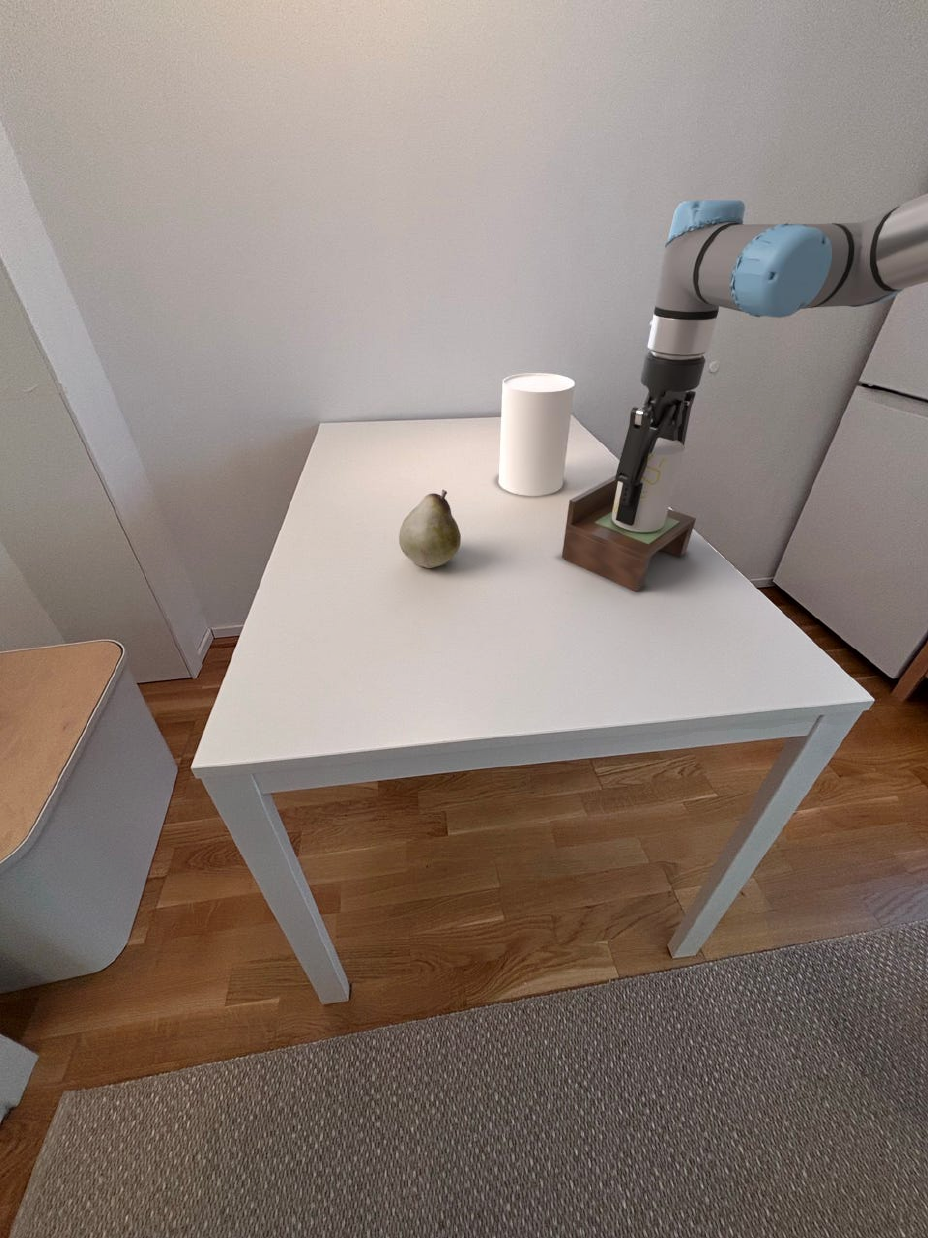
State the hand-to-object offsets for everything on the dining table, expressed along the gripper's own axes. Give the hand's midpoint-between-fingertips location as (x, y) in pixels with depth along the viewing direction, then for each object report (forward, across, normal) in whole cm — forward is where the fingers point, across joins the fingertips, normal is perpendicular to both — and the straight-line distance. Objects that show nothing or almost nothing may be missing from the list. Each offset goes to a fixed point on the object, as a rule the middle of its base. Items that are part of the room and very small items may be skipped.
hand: (639, 512), depth 81 cm
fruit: (+9, +24, -23) cm, 34 cm away
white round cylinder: (+1, 0, 0) cm, 1 cm away
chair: (+8, 0, -1) cm, 8 cm away
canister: (+8, -12, -31) cm, 34 cm away
